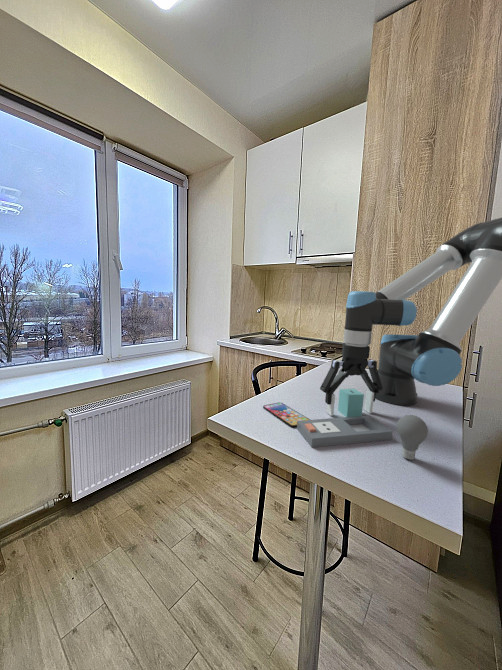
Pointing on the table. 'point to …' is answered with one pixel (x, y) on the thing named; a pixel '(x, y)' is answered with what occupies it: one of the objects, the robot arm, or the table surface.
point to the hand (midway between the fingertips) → (349, 412)
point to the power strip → (342, 431)
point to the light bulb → (411, 434)
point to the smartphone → (285, 414)
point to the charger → (350, 402)
